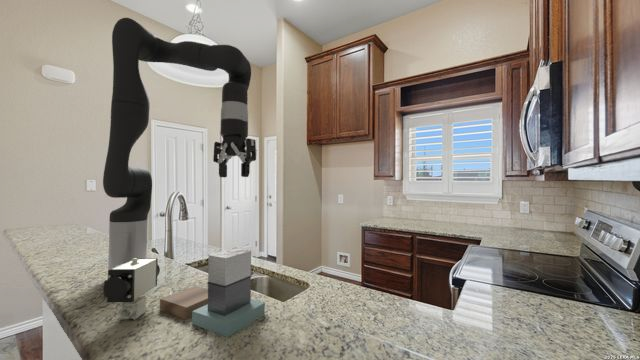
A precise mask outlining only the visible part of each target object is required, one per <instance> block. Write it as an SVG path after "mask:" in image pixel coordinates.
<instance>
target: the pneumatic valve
mask: <svg viewBox="0 0 640 360" xmlns="http://www.w3.org/2000/svg"><path fill="white" fill-rule="evenodd" d="M158 260H159V259H158V258H155V257H154V258H147V259H138V258H134V259H132V261H130V262H127V263H125V264H121V265H120V266H119V265H118V266H116V267H115V268H113V269H110V270H108V269H107V279H105V280H104V282H103V283H104V284H103V287H102V290H103V291H102V292H103V297H104V298H106V302H107V303H109V304H110V303H120V305H119V307H120V308H121V309H120V311H119V320H120V321H124V320H131V319H132V320H133V321H135V320H137V319H139V318H140V317H141V316H143V315H144V314H145V313H146V312H147V308H146V307H147V306H146V305H147V296H144V295H146V293H149V291H151V290H153V289H154V288H156V287H158V276H159V275H160V272H161V268H160V266H159V263H158ZM142 296H143V297H142Z"/></svg>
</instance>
